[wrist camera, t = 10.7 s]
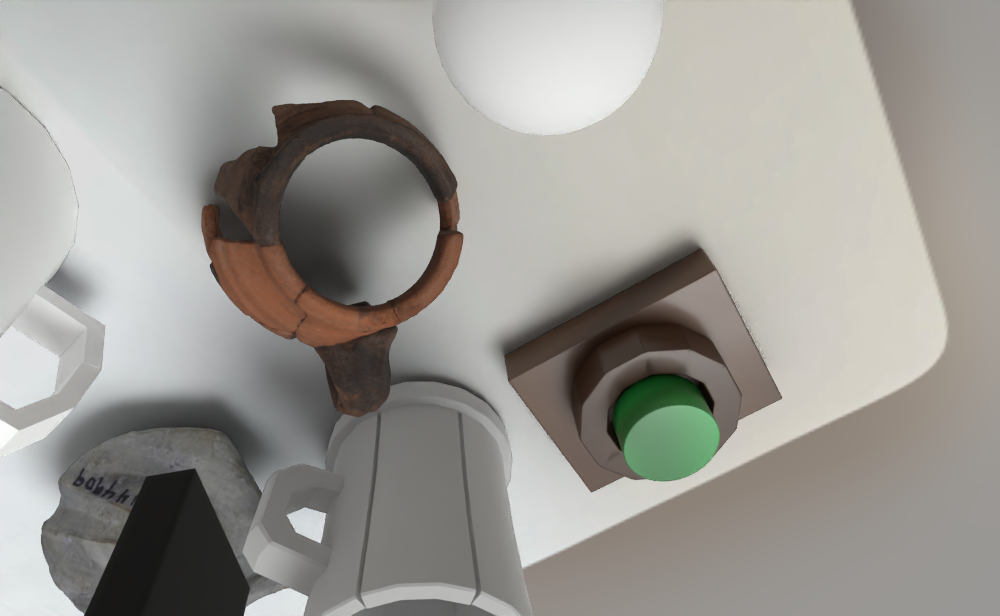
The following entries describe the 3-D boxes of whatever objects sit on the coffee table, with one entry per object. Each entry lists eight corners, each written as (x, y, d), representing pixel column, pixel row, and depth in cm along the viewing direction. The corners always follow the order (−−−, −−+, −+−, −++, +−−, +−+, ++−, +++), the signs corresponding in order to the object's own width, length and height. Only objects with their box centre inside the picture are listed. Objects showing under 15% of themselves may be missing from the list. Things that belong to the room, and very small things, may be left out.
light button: (681, 358, 33) (697, 388, 31) (718, 421, 34) (734, 453, 33) (596, 402, 33) (606, 434, 31) (636, 461, 35) (648, 495, 33)
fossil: (291, 389, 36) (260, 517, 29) (330, 530, 41) (311, 669, 34) (45, 418, 36) (-45, 555, 29) (112, 557, 40) (48, 704, 33)
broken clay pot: (154, 138, 30) (178, 124, 23) (380, 86, 34) (461, 59, 27) (253, 420, 33) (301, 485, 26) (449, 343, 37) (538, 381, 30)
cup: (316, 532, 41) (279, 765, 30) (271, 390, 36) (210, 608, 26) (518, 503, 41) (550, 726, 30) (500, 359, 36) (530, 563, 26)
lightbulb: (427, -122, 26) (429, -105, 17) (608, -120, 27) (710, -102, 17) (432, 65, 29) (437, 169, 20) (595, 64, 30) (675, 165, 20)
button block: (701, 247, 34) (733, 292, 31) (766, 373, 38) (800, 426, 34) (503, 355, 36) (512, 409, 33) (584, 465, 40) (599, 523, 36)
